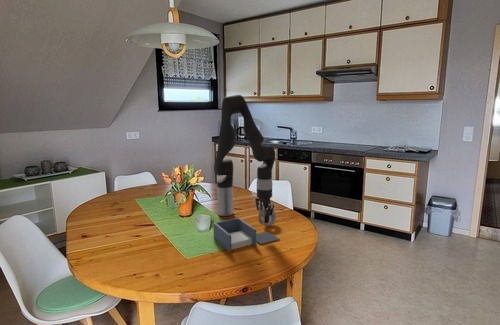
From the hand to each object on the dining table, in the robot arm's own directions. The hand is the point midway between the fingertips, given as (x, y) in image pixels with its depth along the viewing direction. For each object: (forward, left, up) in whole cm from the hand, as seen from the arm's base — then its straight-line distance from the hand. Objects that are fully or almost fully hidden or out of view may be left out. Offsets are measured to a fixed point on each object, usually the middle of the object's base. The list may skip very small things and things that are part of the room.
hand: (264, 221), depth 155 cm
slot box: (-4, -14, -9) cm, 17 cm away
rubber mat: (0, 0, -9) cm, 9 cm away
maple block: (0, 0, -1) cm, 1 cm away
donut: (-12, +11, -9) cm, 18 cm away
